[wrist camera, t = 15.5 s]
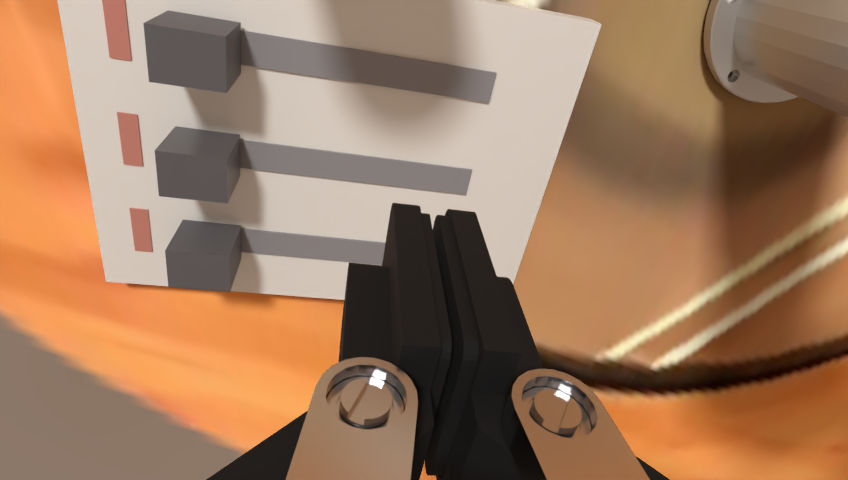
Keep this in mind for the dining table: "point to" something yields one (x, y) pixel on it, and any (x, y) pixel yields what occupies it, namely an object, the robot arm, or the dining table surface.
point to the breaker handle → (198, 165)
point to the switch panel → (317, 128)
